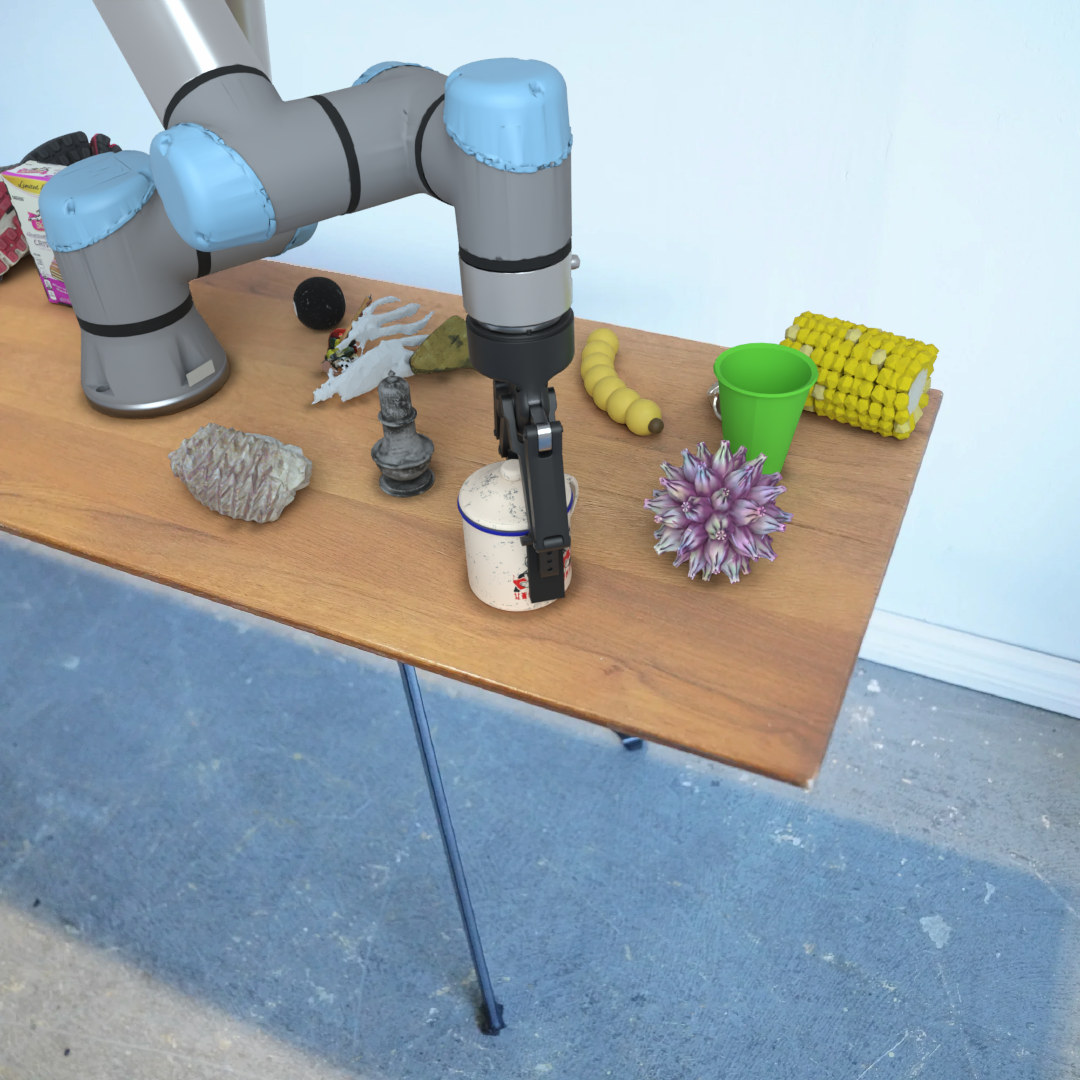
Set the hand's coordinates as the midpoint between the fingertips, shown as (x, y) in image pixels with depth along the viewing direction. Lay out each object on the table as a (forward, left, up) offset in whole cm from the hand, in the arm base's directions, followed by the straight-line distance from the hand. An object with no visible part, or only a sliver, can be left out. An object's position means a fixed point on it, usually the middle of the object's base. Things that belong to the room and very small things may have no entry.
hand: (533, 558), depth 84 cm
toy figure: (-36, -12, +2) cm, 38 cm away
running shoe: (-76, -52, +8) cm, 92 cm away
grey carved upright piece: (-16, -9, -2) cm, 19 cm away
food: (-12, +32, +2) cm, 34 cm away
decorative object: (-36, -6, -2) cm, 37 cm away
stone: (-34, -1, -3) cm, 35 cm away
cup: (-9, +23, -2) cm, 25 cm away
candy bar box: (-64, -42, -2) cm, 76 cm away
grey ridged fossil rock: (-18, -23, -2) cm, 30 cm away
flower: (+2, +15, -2) cm, 15 cm away
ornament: (-19, +26, -1) cm, 33 cm away
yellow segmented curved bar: (-26, +14, -2) cm, 29 cm away
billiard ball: (-49, -15, -2) cm, 52 cm away
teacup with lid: (-1, 0, -2) cm, 2 cm away
